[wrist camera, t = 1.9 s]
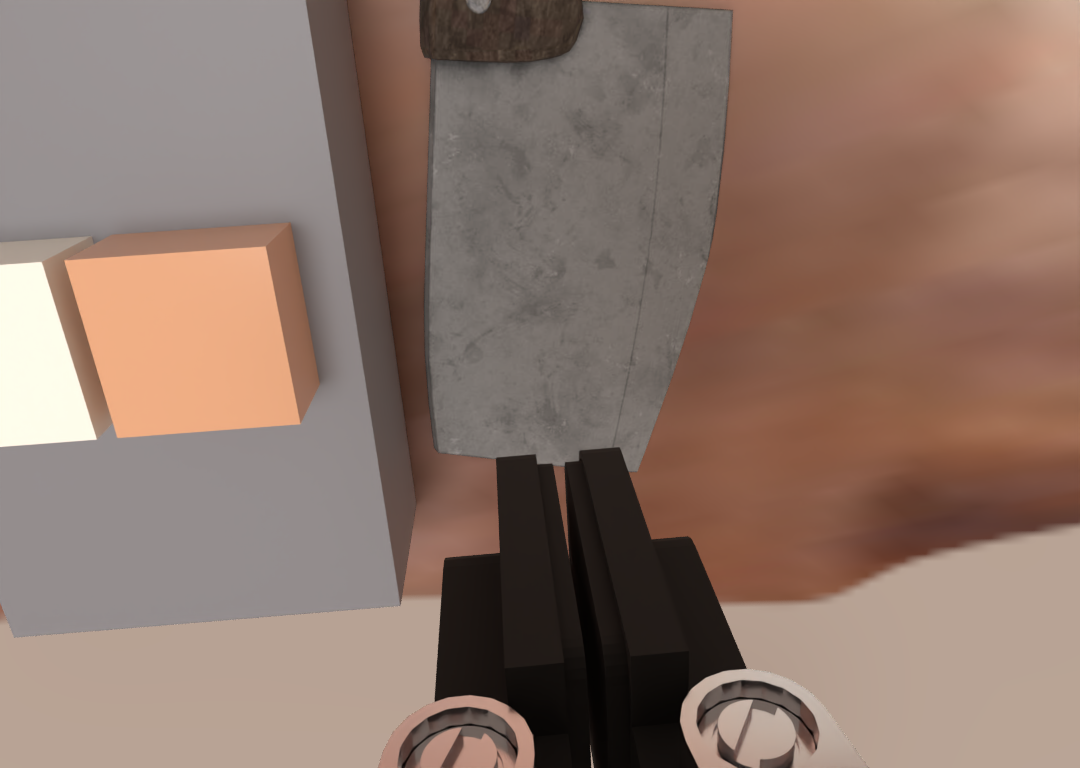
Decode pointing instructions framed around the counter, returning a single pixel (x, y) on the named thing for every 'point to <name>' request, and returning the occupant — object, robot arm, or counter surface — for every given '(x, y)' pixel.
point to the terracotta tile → (197, 328)
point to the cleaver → (565, 217)
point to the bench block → (194, 203)
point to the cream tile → (45, 349)
